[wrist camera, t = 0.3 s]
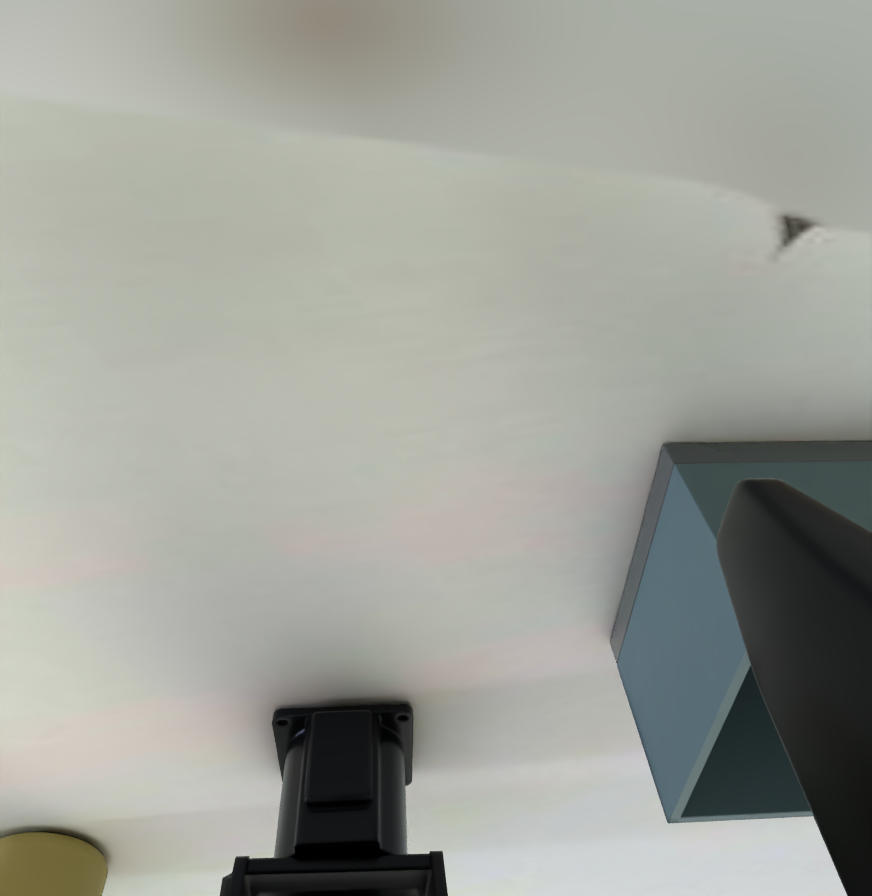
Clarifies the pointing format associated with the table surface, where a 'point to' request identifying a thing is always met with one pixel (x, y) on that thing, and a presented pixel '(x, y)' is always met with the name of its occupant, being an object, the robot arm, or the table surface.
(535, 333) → the table surface
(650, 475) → the table surface
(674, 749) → the hinged door cabinet
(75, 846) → the paper tube
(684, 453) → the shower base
